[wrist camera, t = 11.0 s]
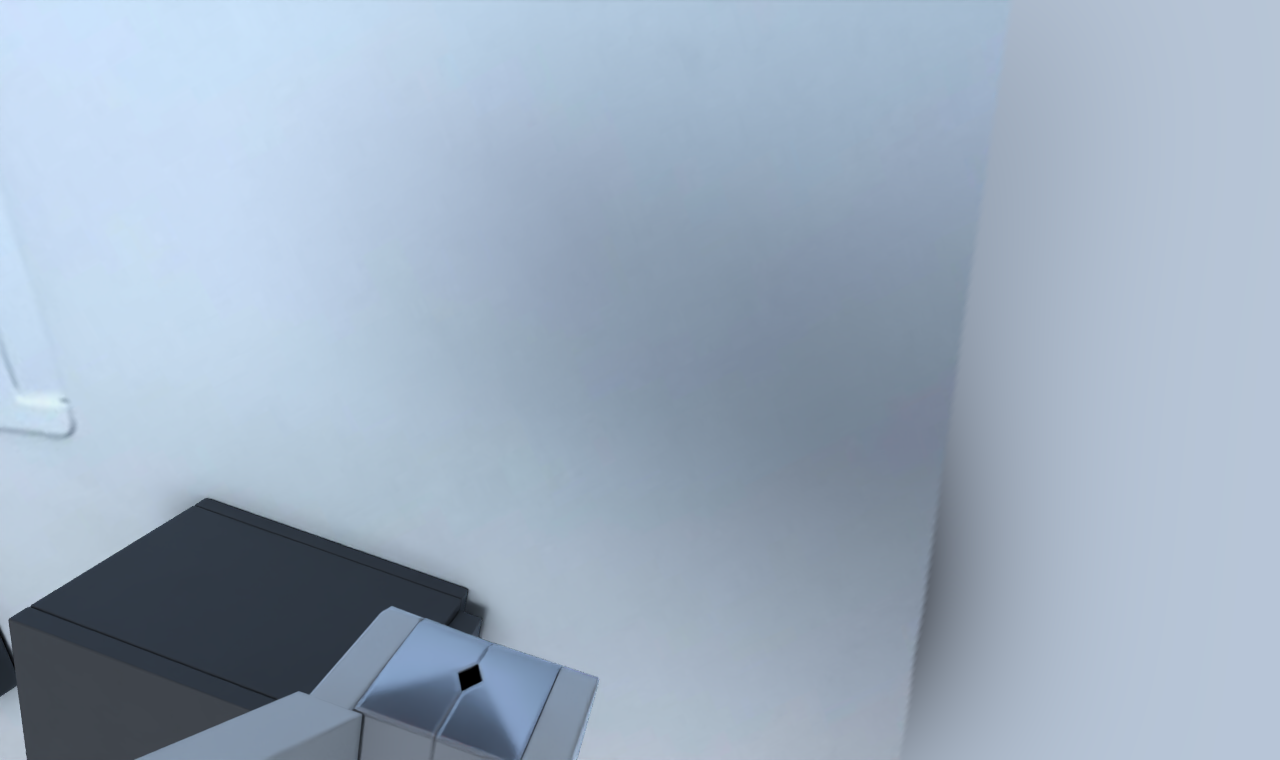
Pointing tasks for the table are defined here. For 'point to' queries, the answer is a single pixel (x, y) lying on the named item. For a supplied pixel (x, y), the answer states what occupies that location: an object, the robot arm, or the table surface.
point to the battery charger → (6, 671)
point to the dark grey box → (198, 631)
